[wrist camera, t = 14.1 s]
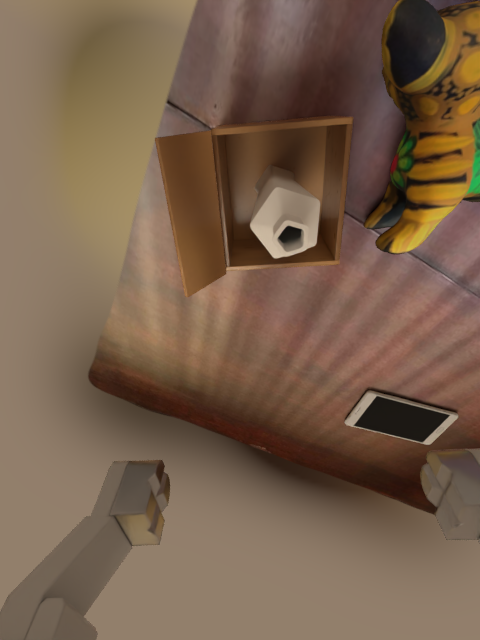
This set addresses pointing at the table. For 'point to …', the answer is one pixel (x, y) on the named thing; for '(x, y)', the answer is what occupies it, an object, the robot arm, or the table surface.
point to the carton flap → (193, 207)
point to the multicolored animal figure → (430, 118)
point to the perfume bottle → (284, 214)
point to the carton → (309, 172)
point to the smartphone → (400, 417)
